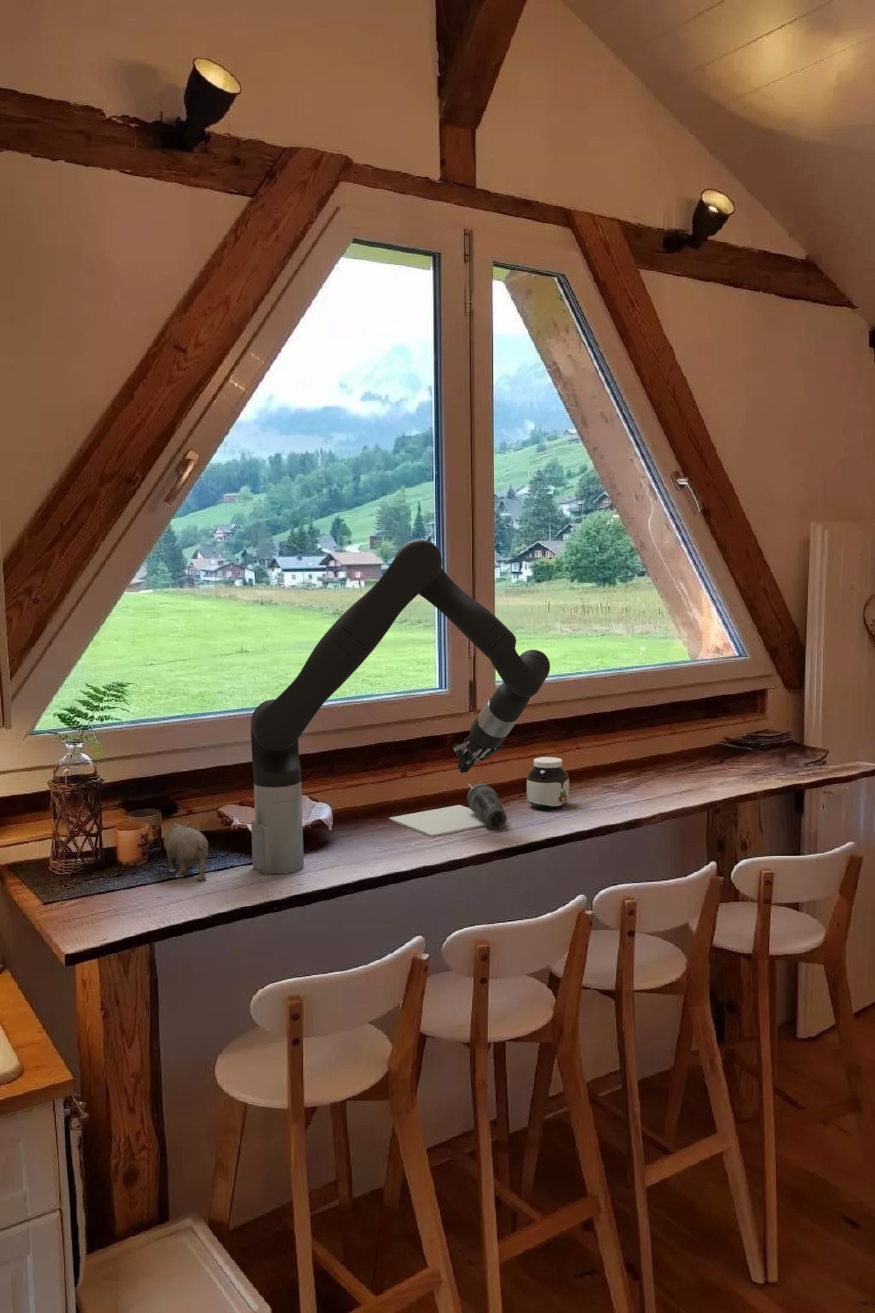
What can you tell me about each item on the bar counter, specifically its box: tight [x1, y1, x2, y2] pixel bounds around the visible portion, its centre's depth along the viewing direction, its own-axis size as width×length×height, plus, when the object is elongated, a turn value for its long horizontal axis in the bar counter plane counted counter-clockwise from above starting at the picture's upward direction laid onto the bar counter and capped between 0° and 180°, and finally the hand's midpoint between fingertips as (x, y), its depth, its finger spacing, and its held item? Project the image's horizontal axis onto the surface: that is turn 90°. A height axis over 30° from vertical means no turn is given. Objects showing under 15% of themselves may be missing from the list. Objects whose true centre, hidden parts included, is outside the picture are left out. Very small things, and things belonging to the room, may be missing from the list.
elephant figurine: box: [163, 821, 209, 881], centre depth 196 cm, size 8×14×15 cm
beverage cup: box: [467, 783, 507, 830], centre depth 233 cm, size 7×7×20 cm
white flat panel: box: [388, 804, 489, 838], centre depth 232 cm, size 20×18×1 cm
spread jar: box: [526, 756, 570, 811], centre depth 245 cm, size 12×11×12 cm
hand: (462, 769), depth 225 cm, fingers closed
